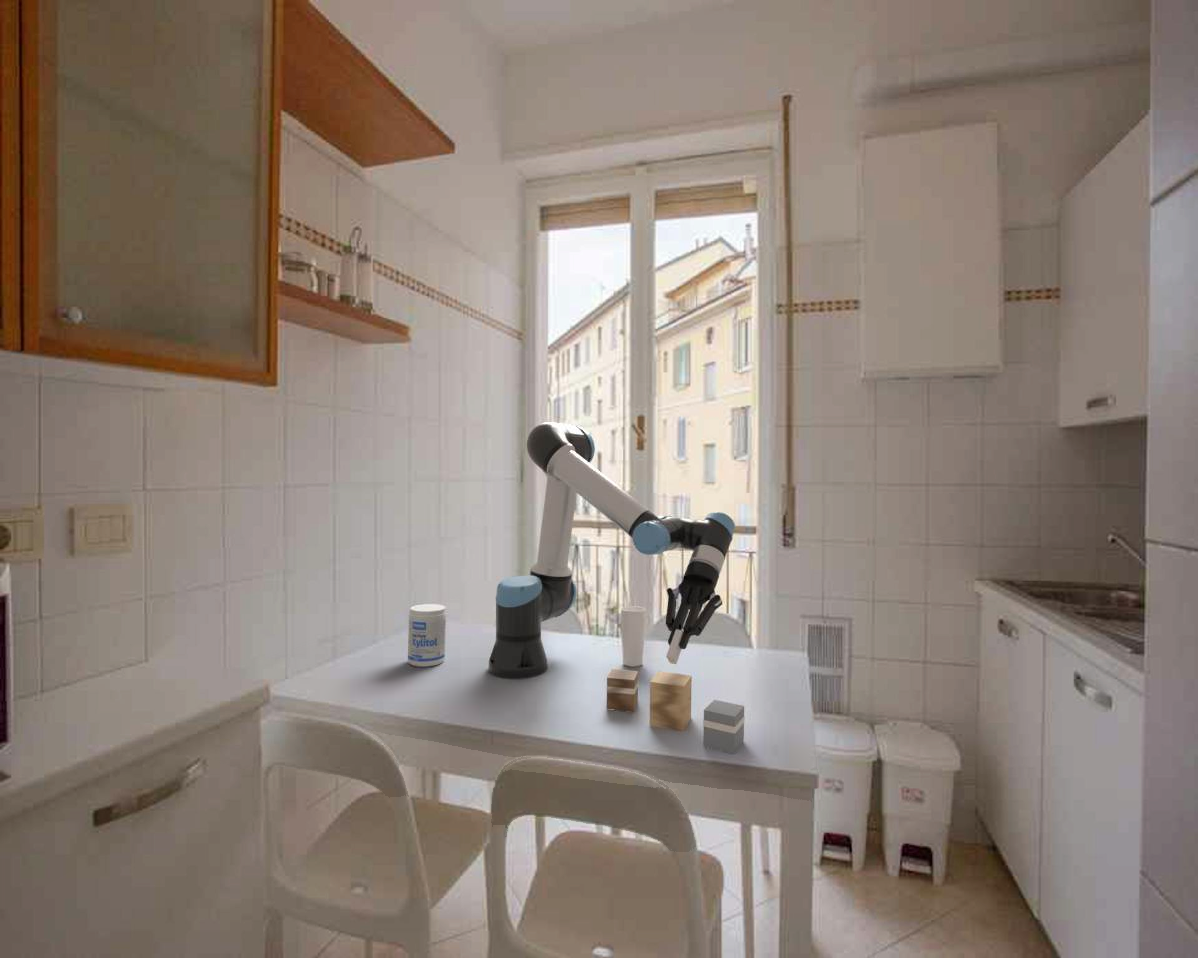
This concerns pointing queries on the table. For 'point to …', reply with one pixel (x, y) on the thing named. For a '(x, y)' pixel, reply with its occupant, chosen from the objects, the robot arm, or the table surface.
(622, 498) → the robot arm
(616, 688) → the walnut block
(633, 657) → the drinking glass
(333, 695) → the table surface
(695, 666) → the table surface
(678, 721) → the oak block
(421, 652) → the supplement tub
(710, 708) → the grey block
